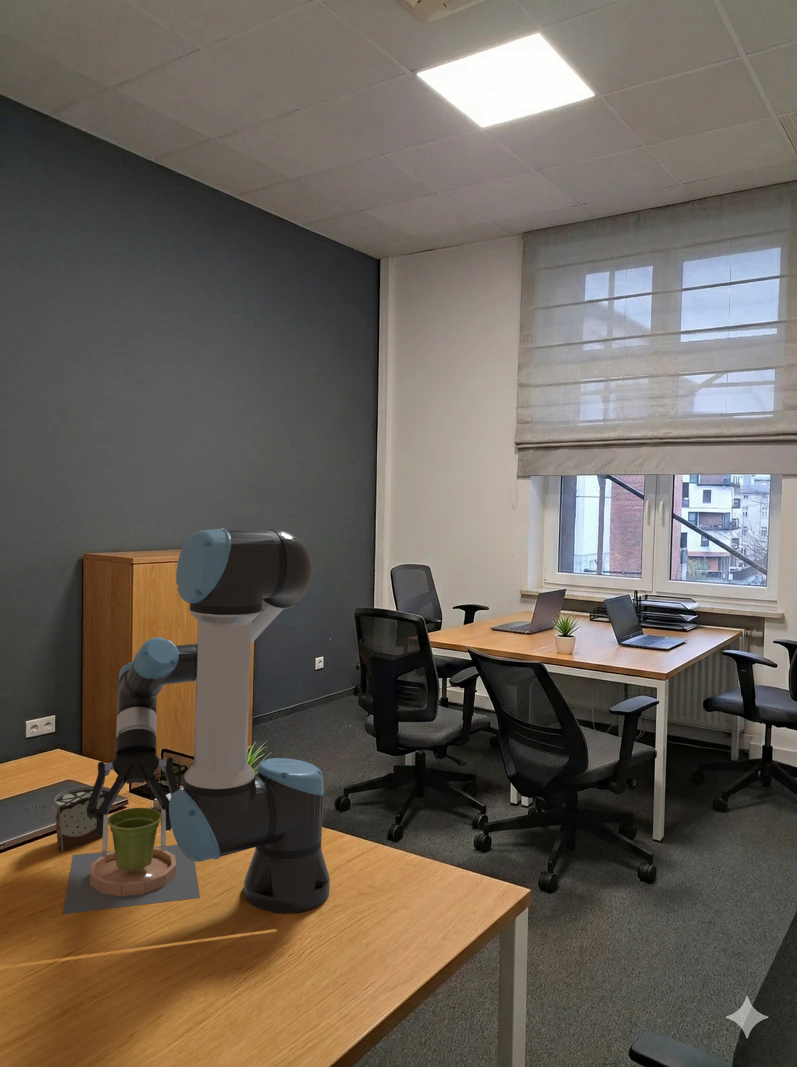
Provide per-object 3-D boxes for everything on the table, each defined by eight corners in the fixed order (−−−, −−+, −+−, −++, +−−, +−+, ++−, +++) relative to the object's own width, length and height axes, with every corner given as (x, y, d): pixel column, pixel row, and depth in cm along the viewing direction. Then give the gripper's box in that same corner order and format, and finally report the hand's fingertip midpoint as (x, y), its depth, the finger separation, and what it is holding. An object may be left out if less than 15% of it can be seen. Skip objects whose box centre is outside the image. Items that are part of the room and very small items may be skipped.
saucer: (173, 853, 152) (173, 843, 152) (177, 889, 139) (177, 878, 138) (92, 861, 148) (92, 851, 148) (87, 900, 134) (88, 888, 134)
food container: (94, 827, 164) (95, 780, 163) (111, 836, 160) (113, 787, 159) (37, 847, 154) (38, 797, 153) (55, 856, 150) (56, 805, 149)
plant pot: (107, 880, 137) (109, 831, 137) (104, 856, 146) (106, 810, 145) (163, 871, 141) (164, 824, 140) (157, 849, 149) (158, 804, 149)
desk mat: (191, 845, 157) (191, 843, 157) (200, 899, 136) (200, 897, 136) (72, 857, 150) (72, 854, 150) (62, 916, 129) (62, 913, 129)
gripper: (192, 742, 160) (196, 852, 146) (76, 748, 153) (68, 865, 139) (195, 723, 155) (199, 836, 141) (75, 729, 148) (66, 849, 134)
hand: (134, 850), depth 140 cm, fingers closed on plant pot, 9 cm apart
